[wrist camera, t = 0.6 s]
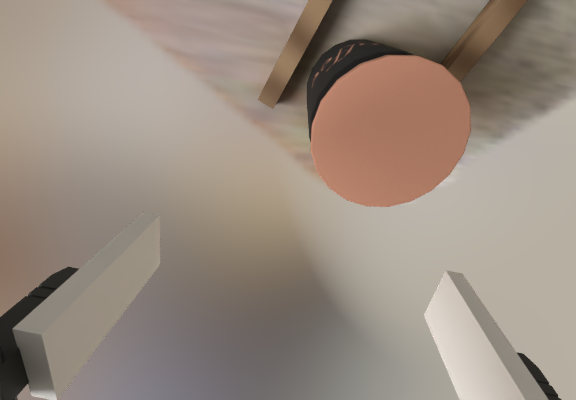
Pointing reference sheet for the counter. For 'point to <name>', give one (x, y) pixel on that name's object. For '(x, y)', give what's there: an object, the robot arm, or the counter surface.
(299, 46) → the bay
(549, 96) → the counter surface
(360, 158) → the coffee jar
